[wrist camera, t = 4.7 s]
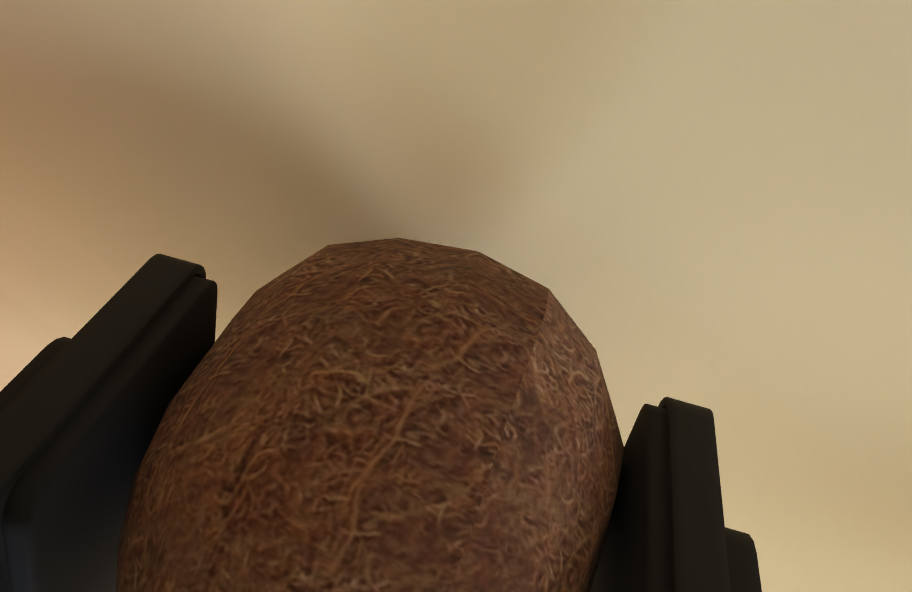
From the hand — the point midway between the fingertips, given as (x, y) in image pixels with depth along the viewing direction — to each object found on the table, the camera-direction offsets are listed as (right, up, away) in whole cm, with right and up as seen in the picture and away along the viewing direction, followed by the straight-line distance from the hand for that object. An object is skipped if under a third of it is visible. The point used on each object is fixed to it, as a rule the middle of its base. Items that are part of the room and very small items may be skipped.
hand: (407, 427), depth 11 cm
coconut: (+1, +2, +3) cm, 3 cm away
